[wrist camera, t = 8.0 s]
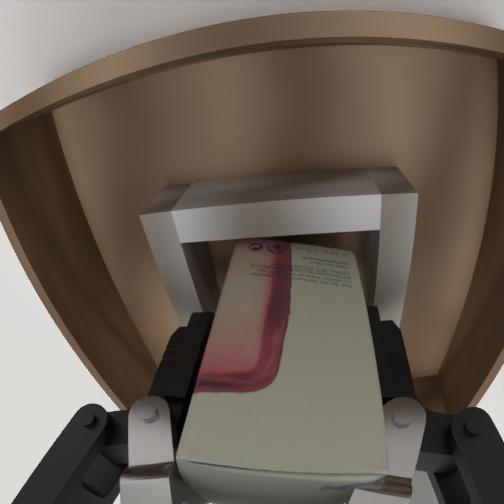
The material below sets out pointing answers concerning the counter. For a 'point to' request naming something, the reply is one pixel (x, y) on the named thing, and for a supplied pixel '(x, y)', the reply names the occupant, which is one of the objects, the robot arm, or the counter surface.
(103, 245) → the crate
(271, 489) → the small box
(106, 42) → the counter surface
